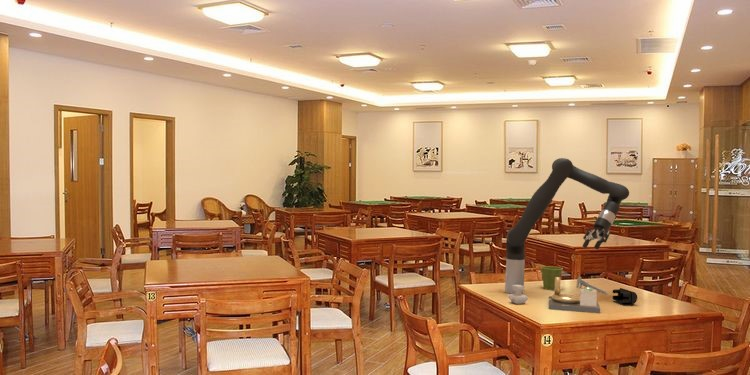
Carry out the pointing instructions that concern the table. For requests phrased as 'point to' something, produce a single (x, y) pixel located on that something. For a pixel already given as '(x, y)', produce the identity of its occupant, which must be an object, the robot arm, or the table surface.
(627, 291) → the end cap
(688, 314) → the table surface
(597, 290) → the caliper
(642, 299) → the table surface
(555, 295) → the brass dish with post
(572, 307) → the base
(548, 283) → the plant pot
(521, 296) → the white rounded piece
